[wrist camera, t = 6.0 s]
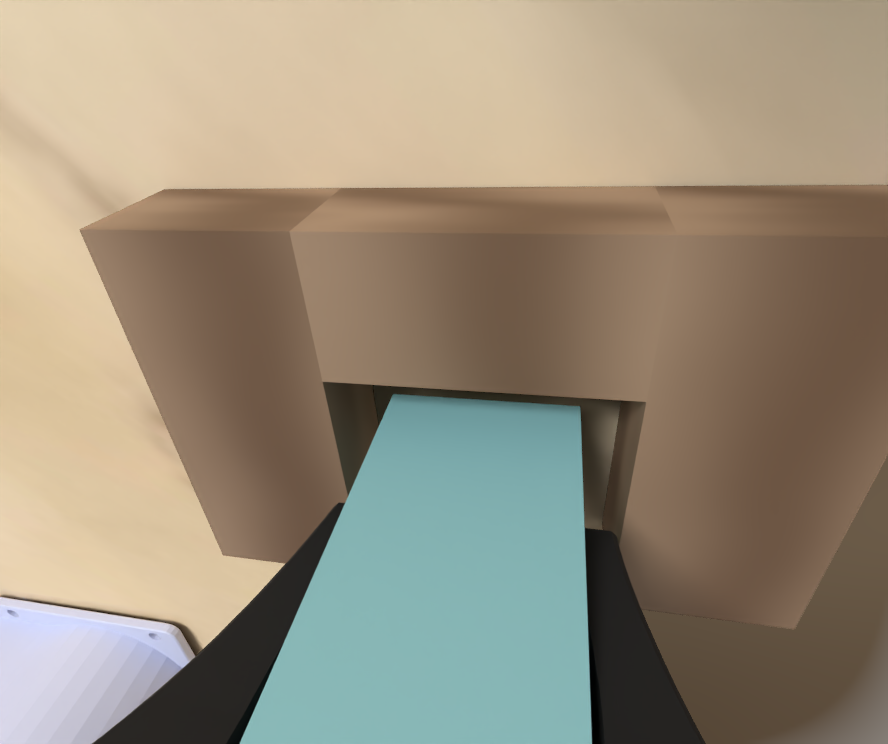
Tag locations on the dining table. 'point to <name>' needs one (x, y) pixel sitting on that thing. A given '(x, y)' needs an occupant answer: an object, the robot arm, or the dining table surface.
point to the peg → (446, 589)
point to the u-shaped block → (530, 355)
